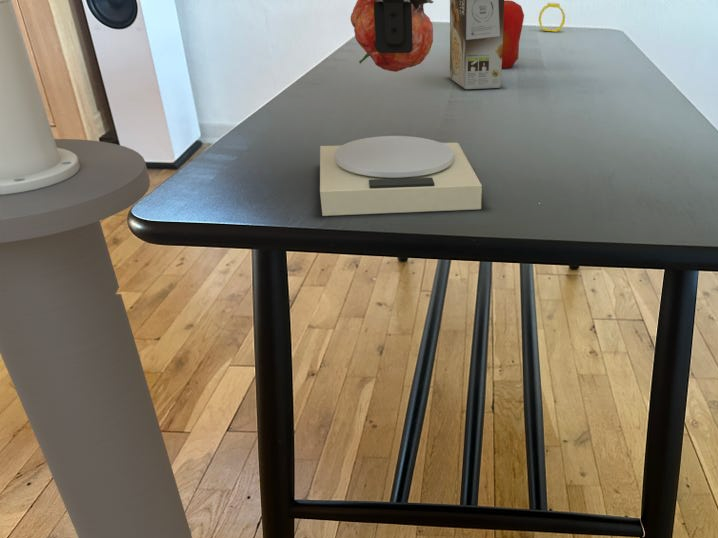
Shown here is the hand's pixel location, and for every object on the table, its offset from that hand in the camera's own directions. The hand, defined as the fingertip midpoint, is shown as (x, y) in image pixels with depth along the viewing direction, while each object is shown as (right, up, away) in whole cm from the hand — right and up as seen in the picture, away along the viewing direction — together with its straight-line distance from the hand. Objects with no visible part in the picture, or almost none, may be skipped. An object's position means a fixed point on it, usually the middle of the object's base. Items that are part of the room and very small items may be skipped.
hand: (390, 43), depth 64 cm
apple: (+12, +24, +61) cm, 67 cm away
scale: (0, -12, +7) cm, 14 cm away
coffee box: (+7, +16, +49) cm, 52 cm away
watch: (+25, +48, +98) cm, 112 cm away
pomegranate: (0, -2, +1) cm, 3 cm away
